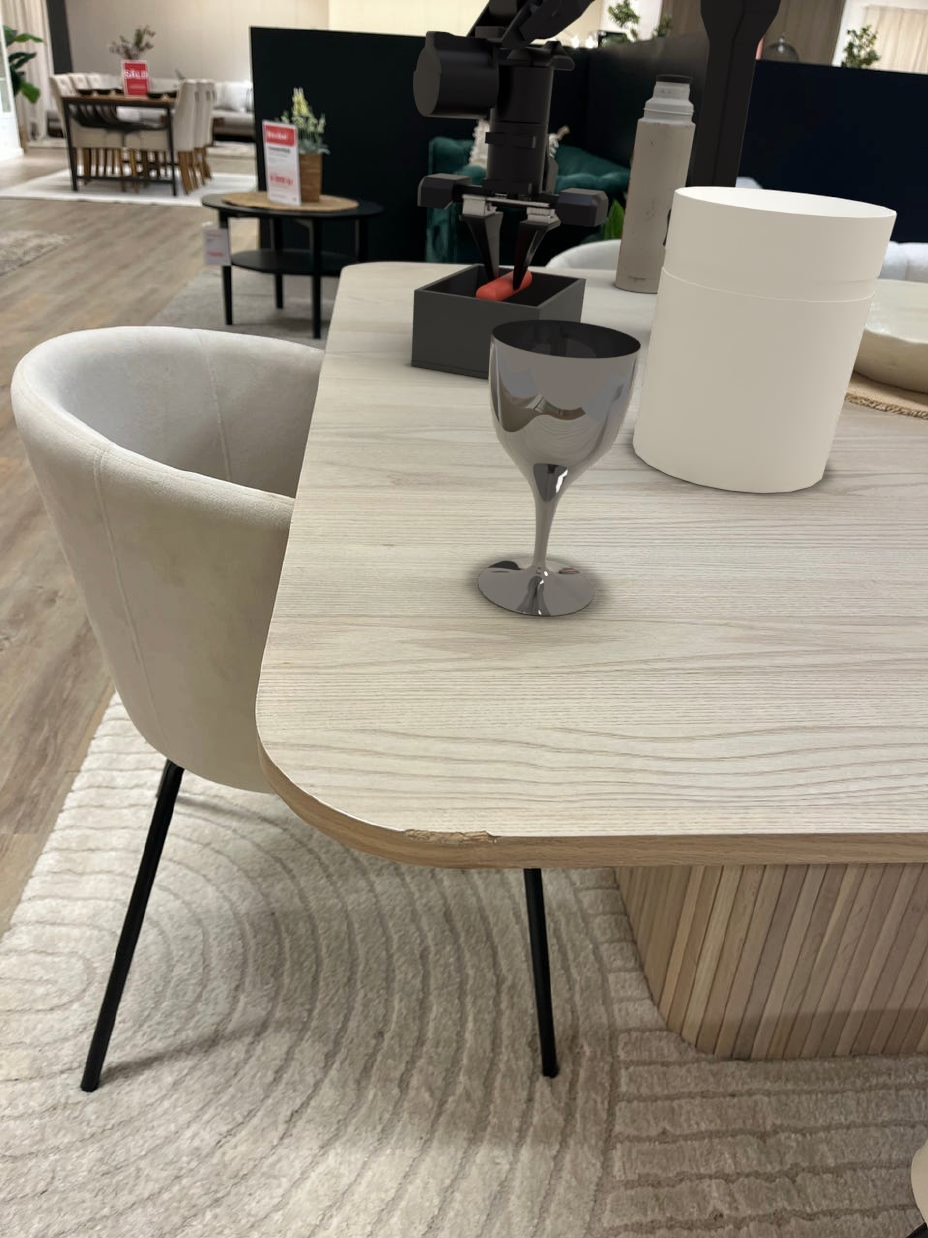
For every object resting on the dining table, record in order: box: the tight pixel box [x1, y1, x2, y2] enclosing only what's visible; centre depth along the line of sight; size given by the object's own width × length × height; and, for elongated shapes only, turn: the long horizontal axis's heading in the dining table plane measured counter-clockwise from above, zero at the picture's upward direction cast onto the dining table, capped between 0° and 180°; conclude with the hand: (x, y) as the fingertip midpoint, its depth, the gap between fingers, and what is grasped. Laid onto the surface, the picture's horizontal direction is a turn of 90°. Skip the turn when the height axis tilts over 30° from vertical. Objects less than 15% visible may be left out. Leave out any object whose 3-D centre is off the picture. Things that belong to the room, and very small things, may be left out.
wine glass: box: [477, 320, 642, 617], centre depth 53 cm, size 8×8×15 cm
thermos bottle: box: [614, 73, 696, 294], centre depth 134 cm, size 8×8×28 cm
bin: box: [410, 263, 587, 380], centre depth 100 cm, size 18×13×8 cm
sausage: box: [476, 268, 532, 302], centre depth 98 cm, size 14×2×2 cm, turn 160°
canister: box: [632, 186, 898, 494], centre depth 74 cm, size 16×16×20 cm
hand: (505, 287), depth 98 cm, fingers closed on sausage, 2 cm apart
